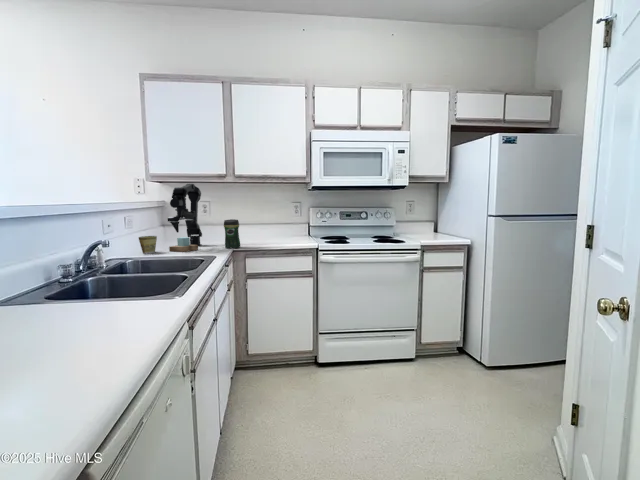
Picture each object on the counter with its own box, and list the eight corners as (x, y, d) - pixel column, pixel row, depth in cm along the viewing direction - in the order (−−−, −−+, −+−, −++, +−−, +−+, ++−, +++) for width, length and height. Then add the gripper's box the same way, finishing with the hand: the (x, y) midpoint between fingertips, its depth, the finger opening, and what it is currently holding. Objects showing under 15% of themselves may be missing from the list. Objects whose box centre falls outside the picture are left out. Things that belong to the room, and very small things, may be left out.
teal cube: (184, 245, 225) (183, 237, 224) (189, 245, 222) (189, 237, 222) (177, 246, 220) (177, 238, 220) (183, 246, 218) (183, 238, 217)
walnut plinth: (184, 248, 230) (184, 244, 229) (198, 249, 224) (198, 244, 224) (169, 251, 219) (169, 246, 218) (183, 252, 214) (183, 247, 213)
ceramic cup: (155, 253, 211) (154, 236, 210) (137, 254, 209) (136, 237, 208) (161, 250, 223) (159, 235, 222) (144, 251, 222) (142, 235, 221)
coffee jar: (241, 246, 233) (240, 218, 231) (238, 248, 225) (237, 219, 223) (227, 247, 233) (225, 219, 231) (223, 248, 225) (222, 219, 223)
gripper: (179, 207, 211) (181, 233, 213) (201, 206, 228) (203, 230, 230) (166, 208, 216) (168, 233, 218) (188, 206, 233) (190, 230, 235)
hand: (183, 231), depth 225 cm, fingers open, 9 cm apart
